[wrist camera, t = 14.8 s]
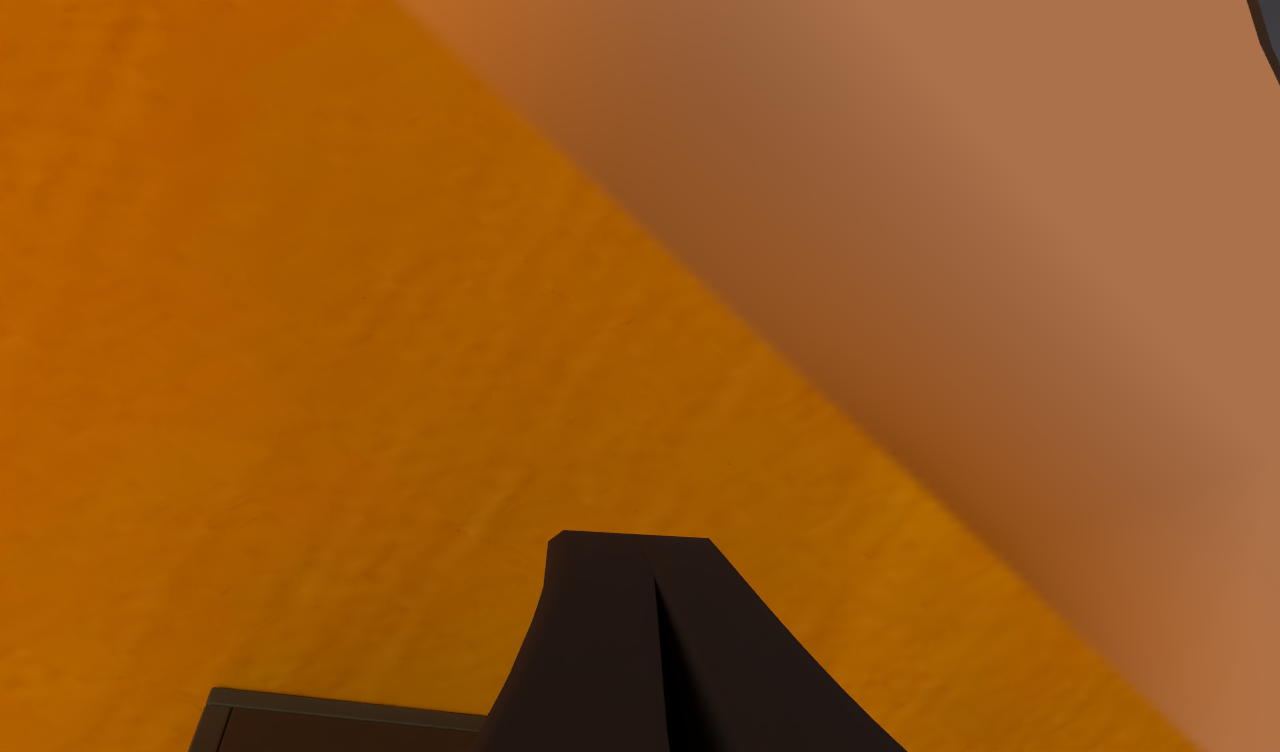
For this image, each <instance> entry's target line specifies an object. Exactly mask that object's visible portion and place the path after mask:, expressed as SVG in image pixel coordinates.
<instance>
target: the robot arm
mask: <svg viewBox="0 0 1280 752" xmlns="http://www.w3.org/2000/svg"><path fill="white" fill-rule="evenodd" d="M468 752H907V751H906V750H905V749H904V748H903V747H902V746H901V745H900V744H899V743H897V742H896V741H895V740H894V739H893V738H892V737H891V736H890V735H889V734H888V733H887V732H886V731H885V730H884V729H883V728H882V727H880V726H879V725H878V724H877V723H876V722H875V721H874V720H873V719H872V718H871V717H870V716H869V715H868V714H867V713H866V712H865V711H864V710H863V709H862V708H861V707H860V706H859V705H858V704H857V703H856V702H855V701H854V700H853V699H852V698H851V697H850V696H849V695H848V694H847V693H846V692H845V691H844V690H843V689H842V688H841V687H840V686H839V684H838V683H837V682H836V681H835V680H834V679H833V678H832V677H831V676H830V675H829V674H828V673H827V672H826V671H825V670H824V669H823V668H822V667H821V666H820V664H819V663H818V662H817V661H816V660H815V659H814V658H813V657H812V656H811V655H810V654H809V653H808V651H807V650H806V649H805V648H804V647H803V646H802V645H801V644H800V643H799V642H798V640H797V639H796V638H795V637H794V636H793V635H792V634H791V633H790V632H789V630H788V629H787V628H786V627H785V626H784V625H783V624H782V623H781V621H780V620H779V619H778V618H777V617H776V616H775V615H774V613H773V612H772V611H771V610H770V609H769V608H768V607H767V605H766V604H765V603H764V602H763V601H762V600H761V598H760V597H759V596H758V595H757V594H756V593H755V591H754V590H753V589H752V588H751V587H750V586H749V584H748V583H747V582H746V581H745V580H744V579H743V577H742V576H741V575H740V574H739V573H738V571H737V570H736V569H735V568H734V567H733V566H732V564H731V563H730V562H729V561H728V560H727V559H726V557H725V556H724V555H723V554H722V553H721V552H720V550H719V549H718V548H717V547H716V546H715V545H714V544H713V542H712V541H711V540H710V539H709V538H693V537H676V536H658V535H640V534H622V533H604V532H586V531H568V530H563V531H562V532H560V533H559V534H558V535H556V536H555V537H554V538H552V539H551V540H550V541H548V549H547V558H546V568H545V577H544V587H543V590H542V594H541V597H540V600H539V603H538V606H537V609H536V612H535V615H534V618H533V620H532V623H531V625H530V628H529V630H528V632H527V635H526V637H525V639H524V642H523V644H522V646H521V649H520V651H519V653H518V655H517V658H516V660H515V662H514V665H513V667H512V669H511V672H510V674H509V676H508V678H507V680H506V682H505V684H504V686H503V688H502V690H501V692H500V694H499V696H498V698H497V699H496V701H495V703H494V705H493V707H492V709H491V710H490V712H489V714H488V716H487V718H486V720H485V721H484V723H483V725H482V727H481V729H480V731H479V733H478V734H477V736H476V738H475V740H474V742H473V744H472V745H471V747H470V749H469V751H468Z"/></svg>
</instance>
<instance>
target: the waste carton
mask: <svg viewBox="0 0 1280 752" xmlns="http://www.w3.org/2000/svg"><path fill="white" fill-rule="evenodd" d="M486 718H487V716H478V715H469V714H460V713H450V712H441V711H432V710H422V709H413V708H404V707H394V706H385V705H376V704H366V703H357V702H348V701H338V700H329V699H319V698H310V697H301V696H291V695H282V694H273V693H263V692H254V691H245V690H235V689H226V688H217V687H214V688H212V689H211V691H210V694H209V697H208V699H207V702H206V706H205V707H204V710H203V713H202V715H201V718H200V721H199V723H198V726H197V729H196V732H195V734H194V737H193V740H192V742H191V745H190V748H189V750H188V752H468V751H469V749H470V747H471V745H472V744H473V742H474V740H475V738H476V736H477V734H478V733H479V731H480V729H481V727H482V725H483V723H484V721H485V720H486Z"/></svg>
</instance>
